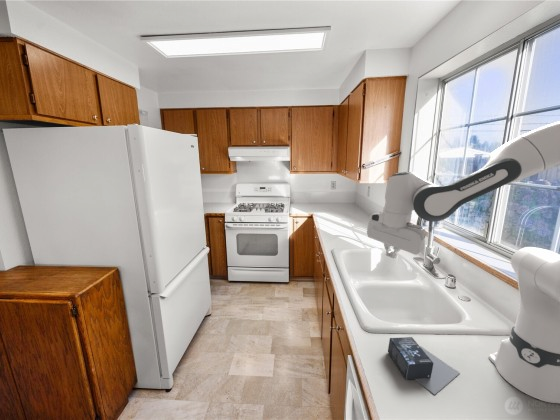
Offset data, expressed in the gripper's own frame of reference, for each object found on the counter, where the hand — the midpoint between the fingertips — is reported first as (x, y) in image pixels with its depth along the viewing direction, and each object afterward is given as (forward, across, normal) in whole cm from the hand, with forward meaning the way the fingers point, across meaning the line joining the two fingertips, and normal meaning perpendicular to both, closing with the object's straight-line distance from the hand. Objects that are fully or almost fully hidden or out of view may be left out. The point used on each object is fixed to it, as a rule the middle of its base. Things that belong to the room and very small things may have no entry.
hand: (390, 256), depth 86 cm
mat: (+29, -19, +3) cm, 35 cm away
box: (+26, -10, +5) cm, 28 cm away
